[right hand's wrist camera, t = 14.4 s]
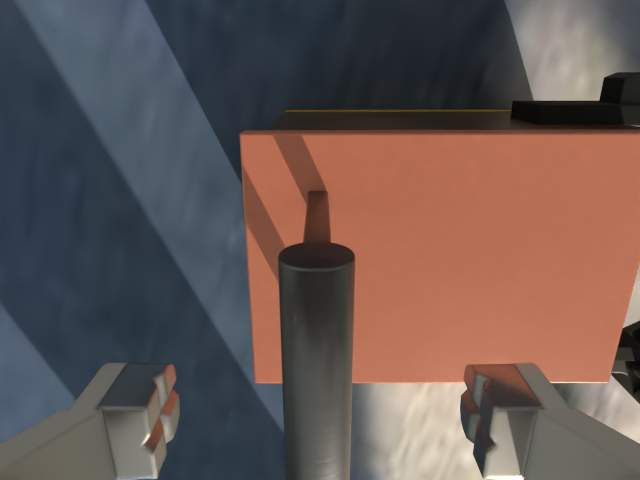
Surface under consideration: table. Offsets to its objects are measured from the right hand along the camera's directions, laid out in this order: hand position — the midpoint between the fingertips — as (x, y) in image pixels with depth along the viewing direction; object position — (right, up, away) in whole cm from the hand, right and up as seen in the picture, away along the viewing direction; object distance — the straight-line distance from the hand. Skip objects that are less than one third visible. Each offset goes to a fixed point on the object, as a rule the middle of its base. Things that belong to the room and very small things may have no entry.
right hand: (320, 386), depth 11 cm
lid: (+5, +3, +7) cm, 9 cm away
